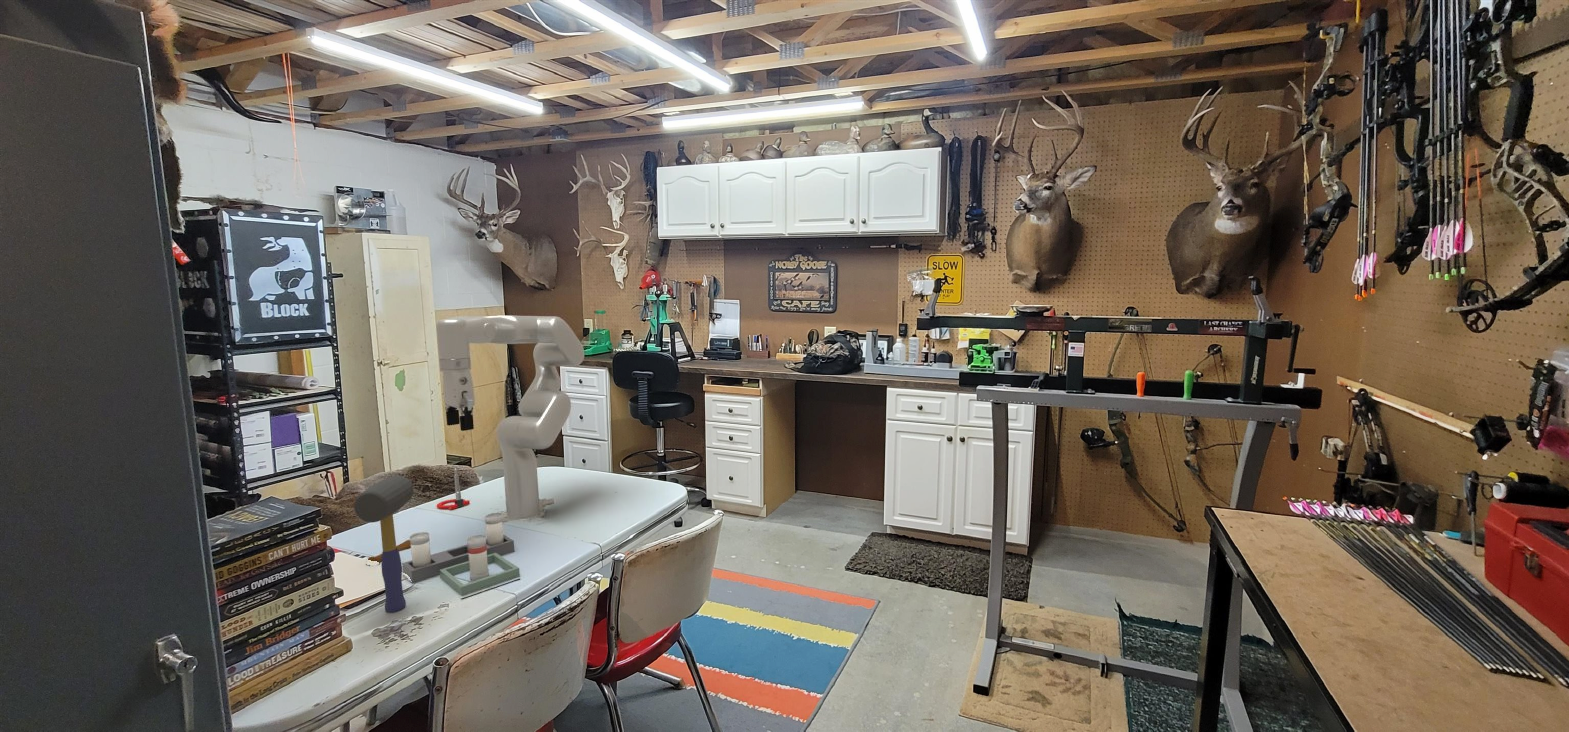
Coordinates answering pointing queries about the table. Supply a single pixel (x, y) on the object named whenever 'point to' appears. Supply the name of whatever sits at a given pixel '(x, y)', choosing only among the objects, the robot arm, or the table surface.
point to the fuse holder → (452, 560)
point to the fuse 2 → (494, 528)
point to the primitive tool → (400, 547)
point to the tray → (485, 582)
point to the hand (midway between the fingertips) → (460, 427)
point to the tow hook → (458, 500)
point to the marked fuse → (477, 557)
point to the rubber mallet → (387, 530)
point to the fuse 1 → (420, 549)
